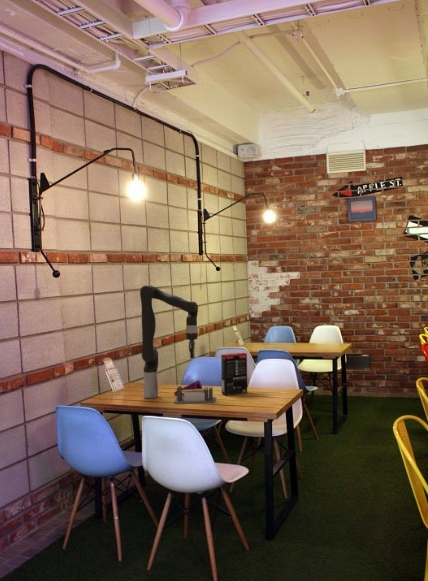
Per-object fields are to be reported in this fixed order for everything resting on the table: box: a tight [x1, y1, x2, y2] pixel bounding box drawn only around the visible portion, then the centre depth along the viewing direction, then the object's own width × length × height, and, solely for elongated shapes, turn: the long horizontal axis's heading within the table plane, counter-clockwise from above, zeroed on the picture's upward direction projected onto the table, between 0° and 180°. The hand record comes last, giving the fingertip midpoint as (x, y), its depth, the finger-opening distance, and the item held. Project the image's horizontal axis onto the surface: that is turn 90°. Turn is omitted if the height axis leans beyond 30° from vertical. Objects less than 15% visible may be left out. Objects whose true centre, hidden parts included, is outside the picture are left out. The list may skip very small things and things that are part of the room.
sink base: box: [173, 385, 217, 404], centre depth 370 cm, size 26×13×9 cm, turn 86°
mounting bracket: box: [173, 380, 203, 396], centre depth 389 cm, size 9×8×18 cm
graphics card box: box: [220, 352, 248, 396], centre depth 388 cm, size 17×7×27 cm, turn 115°
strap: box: [181, 386, 209, 393], centre depth 370 cm, size 19×3×2 cm, turn 86°
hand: (192, 358), depth 378 cm, fingers closed
